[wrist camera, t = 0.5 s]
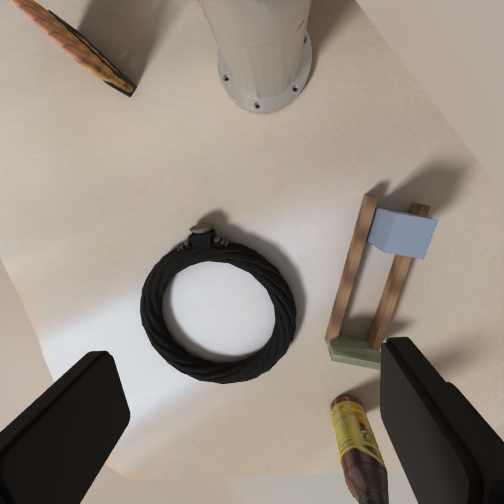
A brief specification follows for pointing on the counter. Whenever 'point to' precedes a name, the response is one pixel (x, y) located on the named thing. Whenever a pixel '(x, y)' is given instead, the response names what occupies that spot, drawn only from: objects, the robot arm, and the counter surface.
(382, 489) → the sauce bottle
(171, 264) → the cable lock
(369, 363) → the track
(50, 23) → the ammunition clip
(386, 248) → the block
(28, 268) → the counter surface
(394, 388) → the robot arm
